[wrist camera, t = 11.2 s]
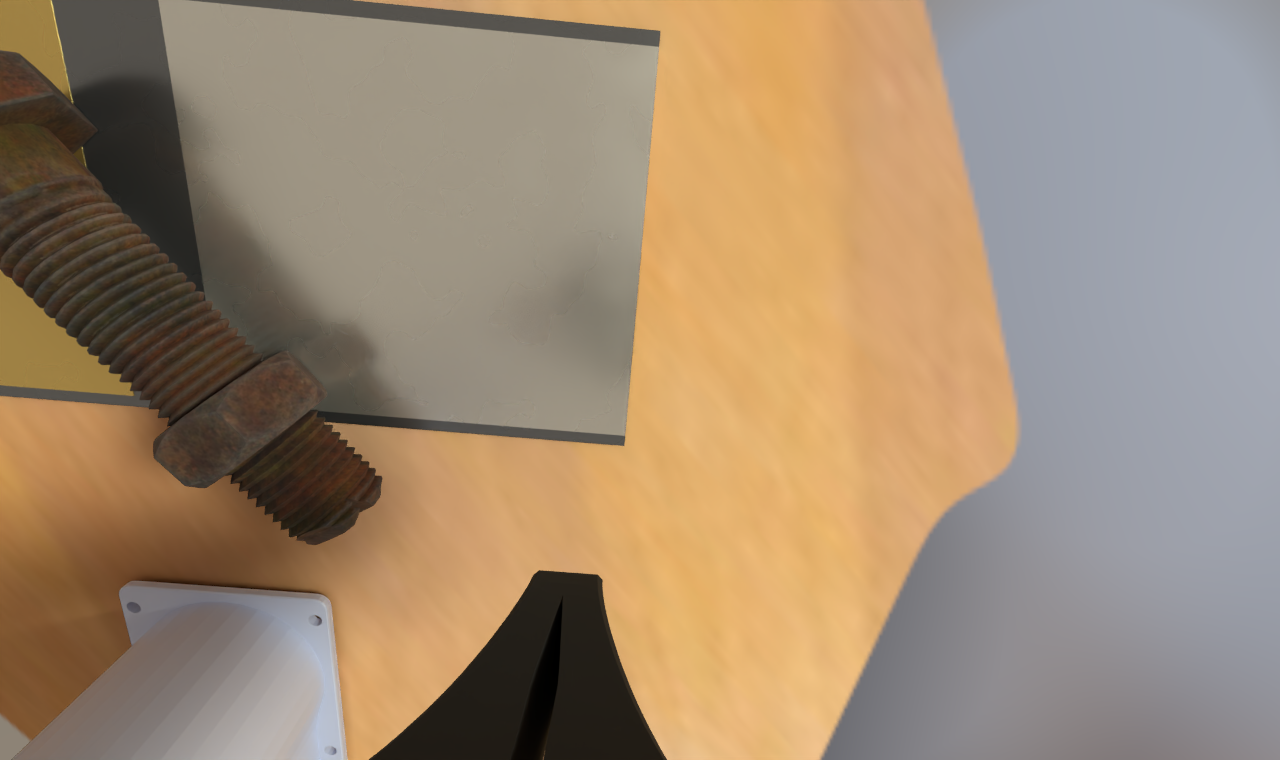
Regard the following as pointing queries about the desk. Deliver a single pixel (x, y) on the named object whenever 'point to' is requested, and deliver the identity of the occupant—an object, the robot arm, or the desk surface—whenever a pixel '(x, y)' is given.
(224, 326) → the bolt
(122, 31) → the flat rectangular plate
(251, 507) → the desk surface
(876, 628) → the desk surface
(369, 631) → the desk surface
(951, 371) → the desk surface
